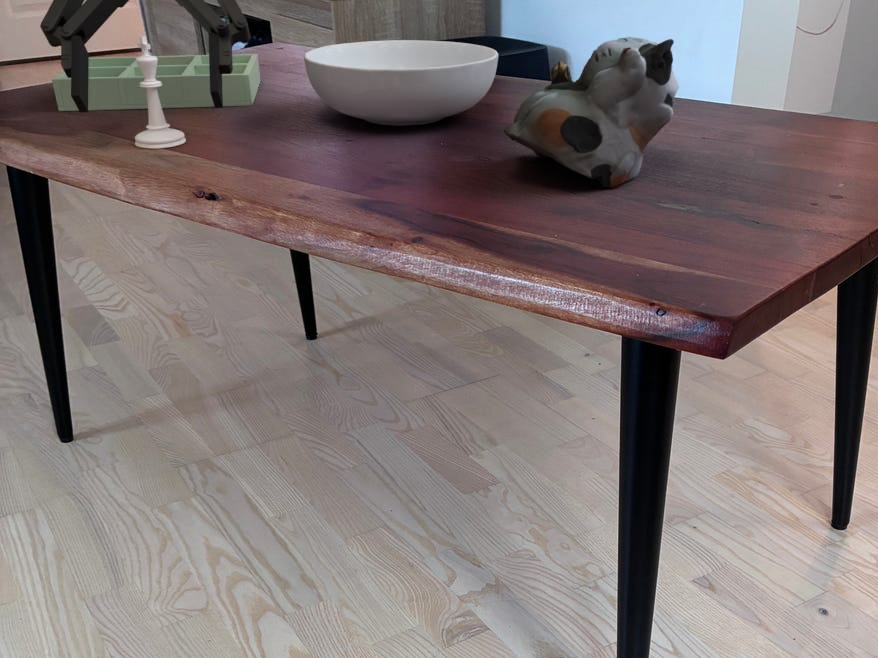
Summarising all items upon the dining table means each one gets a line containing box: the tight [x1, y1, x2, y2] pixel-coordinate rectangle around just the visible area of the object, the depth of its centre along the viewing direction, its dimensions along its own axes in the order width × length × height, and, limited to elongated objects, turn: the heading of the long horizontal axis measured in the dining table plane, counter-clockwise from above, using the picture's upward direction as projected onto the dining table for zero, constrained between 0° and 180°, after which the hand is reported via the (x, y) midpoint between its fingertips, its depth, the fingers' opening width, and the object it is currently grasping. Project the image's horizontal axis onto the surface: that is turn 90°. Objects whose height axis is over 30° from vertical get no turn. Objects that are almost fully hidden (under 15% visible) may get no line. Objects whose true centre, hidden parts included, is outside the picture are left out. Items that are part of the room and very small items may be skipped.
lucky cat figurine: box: [503, 36, 680, 189], centre depth 81 cm, size 15×12×14 cm
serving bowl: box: [303, 39, 499, 127], centre depth 101 cm, size 21×21×7 cm
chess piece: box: [134, 35, 187, 150], centre depth 91 cm, size 5×5×10 cm
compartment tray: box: [51, 53, 261, 112], centre depth 112 cm, size 22×15×4 cm
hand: (148, 102), depth 89 cm, fingers open, 12 cm apart
